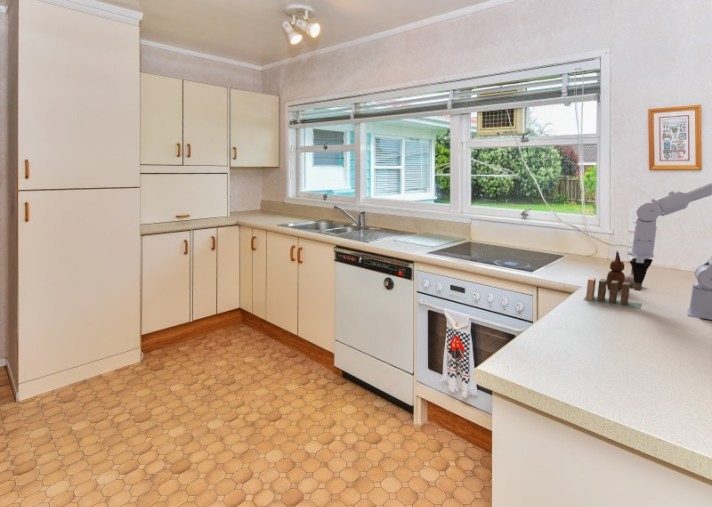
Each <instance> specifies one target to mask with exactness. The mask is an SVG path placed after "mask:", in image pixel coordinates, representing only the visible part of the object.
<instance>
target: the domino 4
mask: <svg viewBox="0 0 712 507" xmlns="http://www.w3.org/2000/svg"><path fill="white" fill-rule="evenodd" d="M642 286H643V282H642V283H635V284H634V287H633V291H638V292H641V290H642V288H643V287H642Z"/></svg>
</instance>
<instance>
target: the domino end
mask: <svg viewBox="0 0 712 507" xmlns="http://www.w3.org/2000/svg"><path fill="white" fill-rule="evenodd" d="M596 282H597V278H596V277H589V278H588V279H587V285H586V286H587V287H586V296H585V297H586V299H587V300H592V299H593V298H594V296H595V292H596Z"/></svg>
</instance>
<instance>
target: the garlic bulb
mask: <svg viewBox="0 0 712 507" xmlns="http://www.w3.org/2000/svg"><path fill="white" fill-rule="evenodd" d="M630 271H631V272H630V274H624V275H625V281H624V282H630V287H633V288H634V284H635V283H634V275H633V269H632V268H631V270H630Z"/></svg>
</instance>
